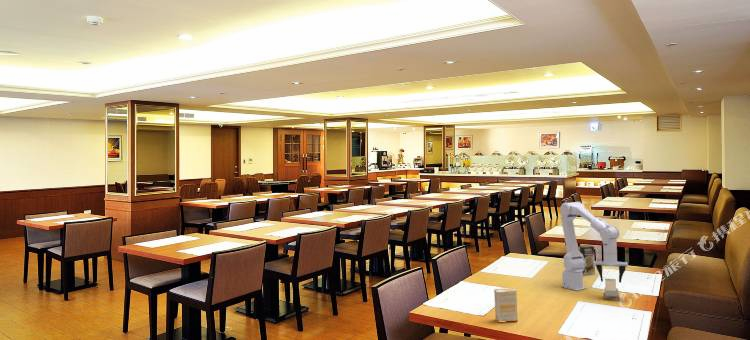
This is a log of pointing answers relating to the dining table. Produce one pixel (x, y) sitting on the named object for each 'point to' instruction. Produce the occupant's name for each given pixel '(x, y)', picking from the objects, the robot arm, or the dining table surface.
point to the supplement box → (505, 304)
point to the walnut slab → (611, 297)
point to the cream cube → (610, 284)
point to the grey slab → (611, 293)
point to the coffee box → (588, 258)
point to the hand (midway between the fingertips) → (610, 281)
